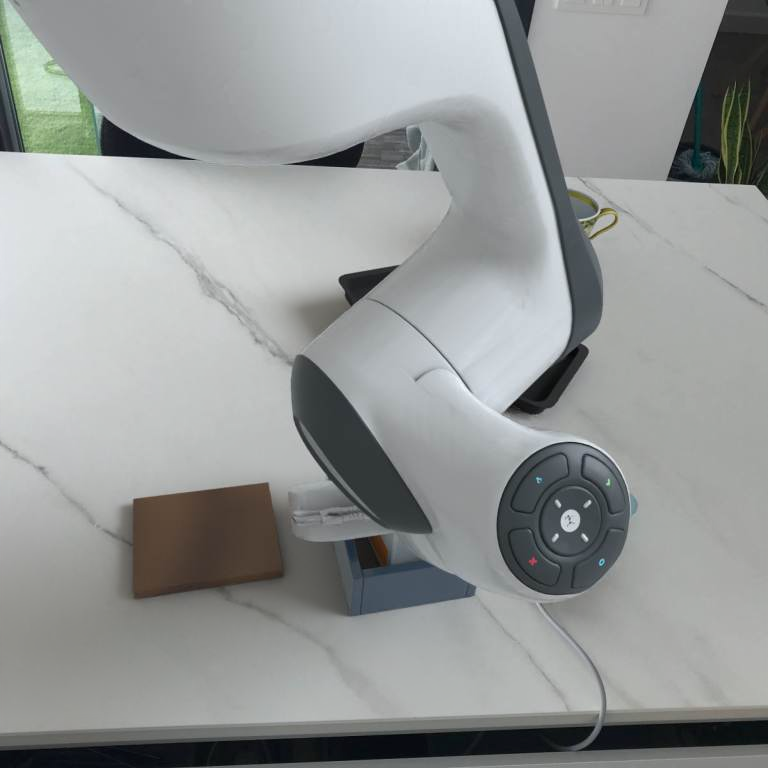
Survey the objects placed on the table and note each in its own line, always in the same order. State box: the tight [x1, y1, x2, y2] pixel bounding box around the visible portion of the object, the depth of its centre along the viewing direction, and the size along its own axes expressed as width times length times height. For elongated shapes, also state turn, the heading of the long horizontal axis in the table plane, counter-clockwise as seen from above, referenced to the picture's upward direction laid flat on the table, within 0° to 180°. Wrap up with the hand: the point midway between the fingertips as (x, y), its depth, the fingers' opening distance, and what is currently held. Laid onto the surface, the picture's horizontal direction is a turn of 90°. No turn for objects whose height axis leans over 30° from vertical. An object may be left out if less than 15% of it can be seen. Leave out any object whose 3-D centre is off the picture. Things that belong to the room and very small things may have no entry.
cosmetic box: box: [367, 533, 423, 567], centre depth 64 cm, size 6×4×12 cm
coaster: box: [132, 482, 285, 600], centre depth 67 cm, size 12×10×1 cm
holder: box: [325, 474, 477, 617], centre depth 66 cm, size 11×12×5 cm
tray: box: [337, 264, 590, 415], centre depth 88 cm, size 30×23×5 cm
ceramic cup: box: [567, 186, 619, 242], centre depth 104 cm, size 13×10×10 cm
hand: (406, 490), depth 63 cm, fingers open, 8 cm apart
